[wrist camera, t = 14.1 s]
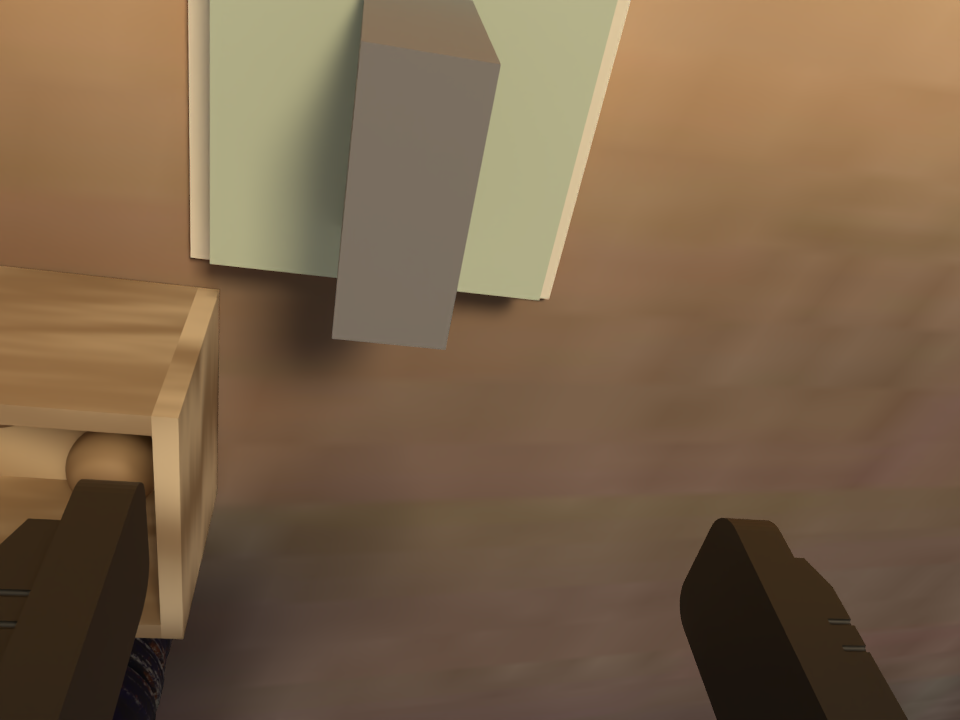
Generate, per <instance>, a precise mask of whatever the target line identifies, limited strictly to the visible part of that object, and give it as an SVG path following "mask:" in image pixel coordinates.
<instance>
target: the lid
mask: <svg viewBox="0 0 960 720" xmlns="http://www.w3.org/2000/svg"><path fill="white" fill-rule="evenodd" d="M617 1H618V0H210V264H216V265H225V266H234V267H243V268H252V269H261V270H270V271H279V272H288V273H297V274H306V275H315V276H324V277H333V278H337V284H336V295H335V307H334V318H333V329H332V339H340V340H351V341H361V342H371V343H381V344H392V345H402V346H412V347H422V348H433V349H443V350H445V349H446V344H447V339H448V334H449V329H450V324H451V318H452V313H453V308H454V303H455V298H456V293H457V291H459V292H468V293H476V294H485V295H494V296H503V297H512V298H521V299H530V300H539V299H540V296H541V292H542V288H543V284H544V280H545V277H546V273H547V269H548V265H549V261H550V257H551V254H552V250H553V246H554V242H555V238H556V234H557V231H558V227H559V223H560V219H561V215H562V211H563V208H564V204H565V200H566V196H567V192H568V189H569V185H570V181H571V177H572V173H573V169H574V166H575V162H576V158H577V154H578V150H579V146H580V143H581V139H582V135H583V131H584V127H585V124H586V120H587V116H588V112H589V108H590V104H591V101H592V97H593V93H594V89H595V85H596V81H597V78H598V74H599V70H600V66H601V62H602V58H603V55H604V51H605V47H606V43H607V39H608V36H609V32H610V28H611V24H612V20H613V16H614V13H615V9H616V5H617Z"/></svg>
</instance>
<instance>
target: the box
mask: <svg viewBox="0 0 960 720" xmlns="http://www.w3.org/2000/svg"><path fill="white" fill-rule="evenodd" d="M219 298H220V290H218V289H209V288H200V287H191V286H182V285H172V284H163V283H154V282H145V281H136V280H127V279H118V278H109V277H99V276H90V275H81V274H72V273H63V272H54V271H45V270H36V269H26V268H17V267H8V266H0V544H1V543H2V542H3V541H4V540H5V539H6V538H7V537H9V536H10V535H11V534H12V533H13V532H14V531H15V530H16V529H17V528H18V527H19V526H21V525H22V524H23V523H24V522H25V521H26V520H27V519H28V518H31V519H51V520H61V518H62V515H63V513H64V510H65V508H66V506H67V503H68V501H69V499H70V496H71V494H72V492H73V489H74V487H75V485H76V484H77V482H78V481H79V480H81V479H93V480H110V481H127V482H142V483H143V484H144V488H145V496H146V512H147V528H148V544H149V579H148V587H147V593H146V599H145V603H144V607H143V611H142V615H141V619H140V622H139V626H138V629H137V633H136V636H135V638H164V639H183V638H184V633H185V629H186V625H187V620H188V616H189V612H190V607H191V603H192V599H193V595H194V590H195V586H196V582H197V577H198V573H199V569H200V564H201V560H202V556H203V551H204V547H205V543H206V538H207V534H208V530H209V526H210V521H211V517H212V513H213V508H214V504H215V500H216V495H217V458H218V378H219Z"/></svg>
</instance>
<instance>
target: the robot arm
mask: <svg viewBox="0 0 960 720" xmlns="http://www.w3.org/2000/svg"><path fill="white" fill-rule="evenodd" d="M148 579H149V544H148V528H147V512H146V496H145V488H144V484H143V483H142V482H127V481H110V480H93V479H81V480H79V481H78V482H77V484H76V485H75V487H74V489H73V492H72V494H71V496H70V499H69V501H68V503H67V506H66V508H65V510H64V513H63V515H62V518H61V520H51V519H31V518H28V519H27V520H26V521H25V522H24V523H23V524H22V525H21V526H19V527H18V528H17V529H16V530H15V531H14V532H13V533H12V534H11V535H10V536H9V537H7V538H6V539H5V540H4V541H3V542H2V543H1V544H0V720H112V719H113V715H114V712H115V708H116V705H117V701H118V697H119V694H120V690H121V687H122V683H123V680H124V676H125V672H126V669H127V665H128V662H129V658H130V654H131V651H132V647H133V644H134V640H135V636H136V633H137V629H138V626H139V622H140V619H141V615H142V611H143V607H144V603H145V599H146V593H147V587H148ZM680 614H681V620H682V625H683V628H684V631H685V633H686V636H687V639H688V642H689V644H690V647H691V650H692V653H693V655H694V658H695V661H696V664H697V666H698V669H699V672H700V675H701V677H702V680H703V683H704V686H705V688H706V691H707V694H708V696H709V699H710V702H711V705H712V707H713V710H714V713H715V716H716V718H717V720H908V719H907V717H906V715H905V714H904V712H903V710H902V708H901V707H900V705H899V703H898V701H897V700H896V698H895V696H894V694H893V693H892V691H891V689H890V687H889V685H888V684H887V682H886V680H885V678H884V677H883V675H882V673H881V671H880V670H879V668H878V666H877V664H876V663H875V661H874V659H873V657H872V656H871V654H870V652H866V650H865V646H866V645H865V643H864V642H863V640H862V638H861V636H860V635H859V633H858V631H857V629H856V627H855V626H851V624H850V620H851V619H850V617H849V615H848V613H847V612H846V610H845V608H844V606H843V605H842V603H841V601H840V599H839V598H838V596H837V594H836V592H835V591H834V589H833V587H832V586H831V585H830V584H829V583H828V582H827V581H826V580H825V579H824V578H823V577H822V576H821V575H820V574H819V573H818V572H817V571H816V570H815V569H814V568H813V567H812V566H811V565H810V564H809V563H808V562H807V561H806V560H805V559H804V558H794V556H793V554H792V553H791V551H790V549H789V547H788V545H787V543H786V541H785V540H784V538H783V536H782V534H781V532H780V531H779V529H778V527H777V526H776V525H775V524H774V523H772V522H770V521H766V520H749V519H731V518H720V519H718V520H716V521H715V522H714V523H713V525H712V527H711V529H710V531H709V533H708V535H707V537H706V539H705V541H704V543H703V545H702V547H701V549H700V551H699V553H698V555H697V557H696V559H695V561H694V563H693V565H692V567H691V569H690V571H689V573H688V575H687V577H686V579H685V581H684V583H683V586H682V590H681V595H680Z"/></svg>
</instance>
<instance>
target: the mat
mask: <svg viewBox="0 0 960 720" xmlns="http://www.w3.org/2000/svg"><path fill="white" fill-rule="evenodd" d="M630 1H631V0H618V1H617V5H616V9H615V13H614V16H613V20H612V24H611V28H610V32H609V36H608V39H607V43H606V47H605V51H604V55H603V58H602V62H601V66H600V70H599V74H598V78H597V81H596V85H595V89H594V93H593V97H592V101H591V104H590V108H589V112H588V116H587V120H586V124H585V127H584V131H583V135H582V139H581V143H580V146H579V150H578V154H577V158H576V162H575V166H574V169H573V173H572V177H571V181H570V185H569V189H568V192H567V196H566V200H565V204H564V208H563V211H562V215H561V219H560V223H559V227H558V231H557V234H556V238H555V242H554V246H553V250H552V254H551V257H550V261H549V265H548V269H547V273H546V277H545V280H544V284H543V288H542V292H541V296H540V298H544V299H549V297H550V294H551V290H552V286H553V283H554V279H555V275H556V272H557V268H558V264H559V261H560V257H561V253H562V250H563V246H564V242H565V239H566V235H567V231H568V228H569V224H570V221H571V217H572V213H573V210H574V206H575V202H576V199H577V195H578V191H579V188H580V184H581V180H582V177H583V173H584V169H585V166H586V162H587V158H588V155H589V151H590V148H591V144H592V140H593V137H594V133H595V129H596V126H597V122H598V118H599V115H600V111H601V107H602V104H603V100H604V96H605V93H606V89H607V85H608V82H609V78H610V74H611V71H612V67H613V64H614V60H615V56H616V53H617V49H618V45H619V42H620V38H621V34H622V31H623V27H624V23H625V20H626V16H627V12H628V9H629V5H630ZM188 42H189V141H190V241H191V258H199V259H208V260H210V0H188Z"/></svg>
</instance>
